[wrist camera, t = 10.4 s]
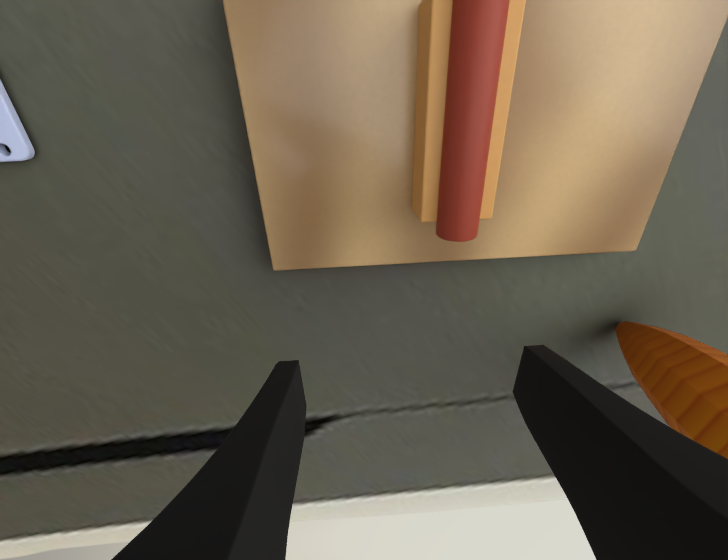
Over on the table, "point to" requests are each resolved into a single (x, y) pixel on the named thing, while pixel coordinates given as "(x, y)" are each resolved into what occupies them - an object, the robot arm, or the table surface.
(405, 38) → the oak board
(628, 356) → the carrot
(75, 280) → the table surface
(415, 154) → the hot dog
